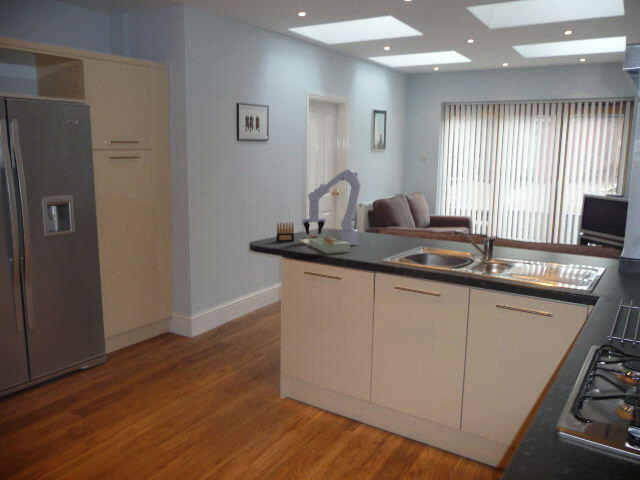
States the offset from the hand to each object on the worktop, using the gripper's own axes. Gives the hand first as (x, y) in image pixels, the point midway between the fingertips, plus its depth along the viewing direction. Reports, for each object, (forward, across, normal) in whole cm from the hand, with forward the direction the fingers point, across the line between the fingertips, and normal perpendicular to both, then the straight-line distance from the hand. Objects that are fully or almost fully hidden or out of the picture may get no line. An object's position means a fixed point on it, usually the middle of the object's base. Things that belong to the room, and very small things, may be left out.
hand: (313, 234), depth 315 cm
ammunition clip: (+5, +16, -6) cm, 18 cm away
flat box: (+5, 0, +23) cm, 23 cm away
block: (0, +6, +34) cm, 34 cm away
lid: (+5, 0, +1) cm, 5 cm away
